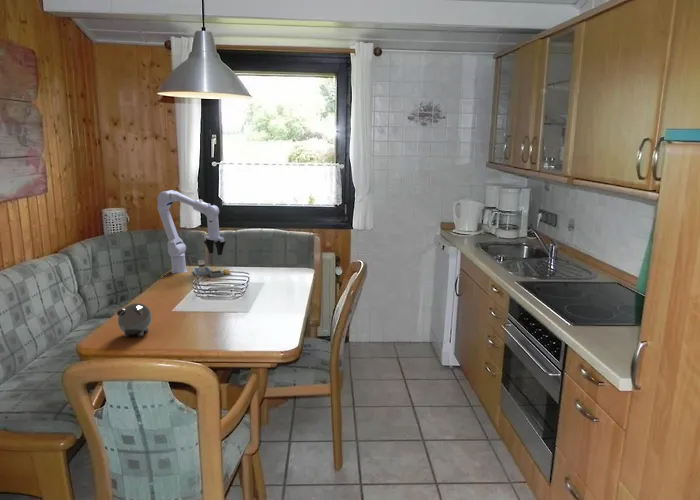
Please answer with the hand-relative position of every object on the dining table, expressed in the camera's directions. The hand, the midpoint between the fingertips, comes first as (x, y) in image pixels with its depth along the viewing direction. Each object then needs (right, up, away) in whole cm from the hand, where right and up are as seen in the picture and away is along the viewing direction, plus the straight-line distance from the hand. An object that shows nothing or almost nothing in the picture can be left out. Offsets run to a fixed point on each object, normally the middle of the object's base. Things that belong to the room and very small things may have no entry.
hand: (215, 253), depth 284 cm
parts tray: (-7, -11, 0) cm, 13 cm away
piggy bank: (-7, -29, -88) cm, 93 cm away
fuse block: (+4, -12, -6) cm, 14 cm away
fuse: (-7, -10, 0) cm, 12 cm away
